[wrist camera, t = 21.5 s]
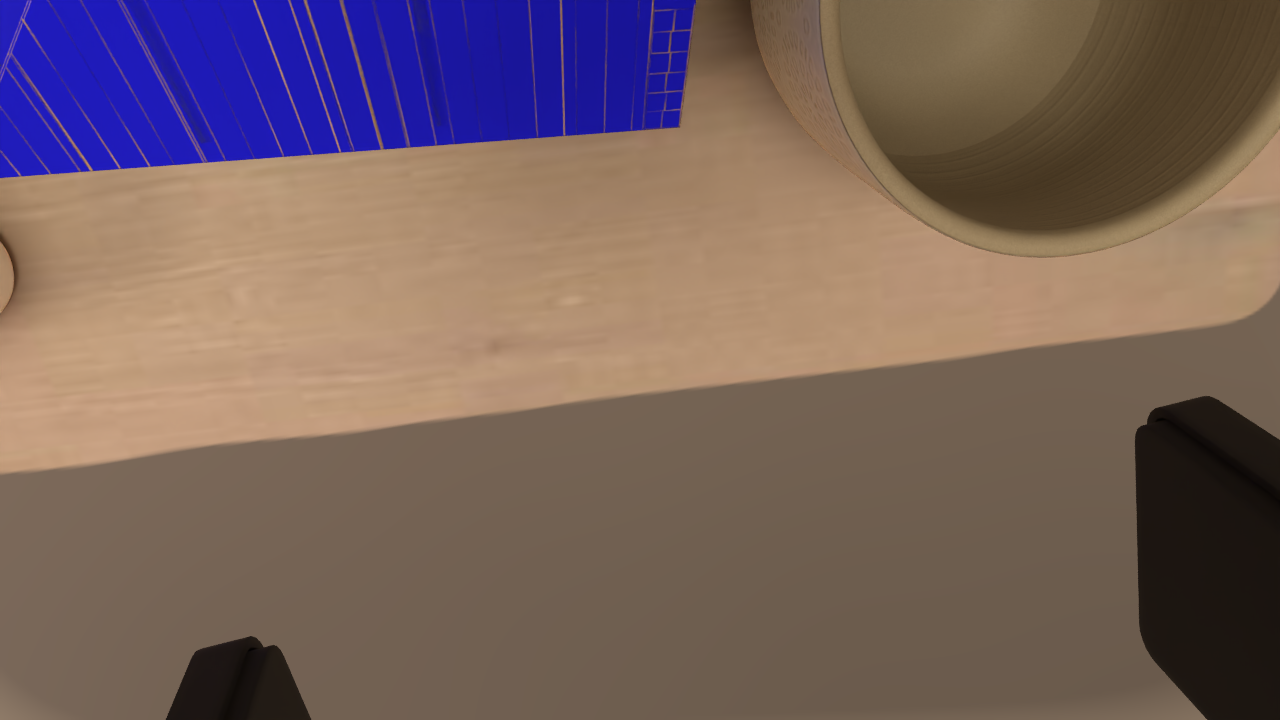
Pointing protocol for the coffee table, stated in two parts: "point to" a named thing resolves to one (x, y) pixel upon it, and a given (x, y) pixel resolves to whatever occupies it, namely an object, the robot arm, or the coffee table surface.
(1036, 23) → the planter
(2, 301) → the drinking glass
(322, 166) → the coffee table surface
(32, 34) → the house
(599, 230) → the coffee table surface
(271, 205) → the coffee table surface
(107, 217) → the coffee table surface
